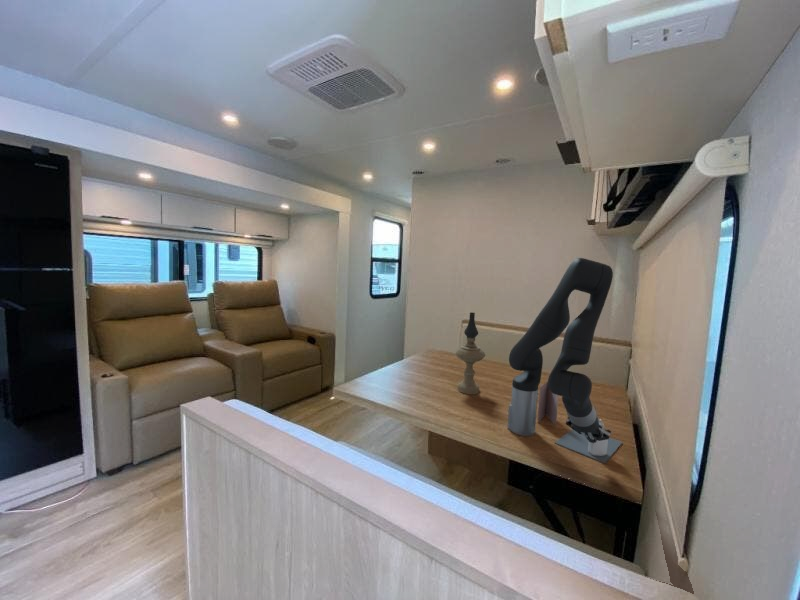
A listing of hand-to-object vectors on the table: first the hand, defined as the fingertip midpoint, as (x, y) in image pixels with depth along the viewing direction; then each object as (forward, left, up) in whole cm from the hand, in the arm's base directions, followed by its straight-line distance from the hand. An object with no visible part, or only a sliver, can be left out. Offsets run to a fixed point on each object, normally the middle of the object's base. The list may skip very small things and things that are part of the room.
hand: (592, 439), depth 108 cm
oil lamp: (-64, +21, -8) cm, 68 cm away
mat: (-5, +12, -7) cm, 15 cm away
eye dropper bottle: (0, +6, -7) cm, 10 cm away
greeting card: (-22, +19, -8) cm, 30 cm away
